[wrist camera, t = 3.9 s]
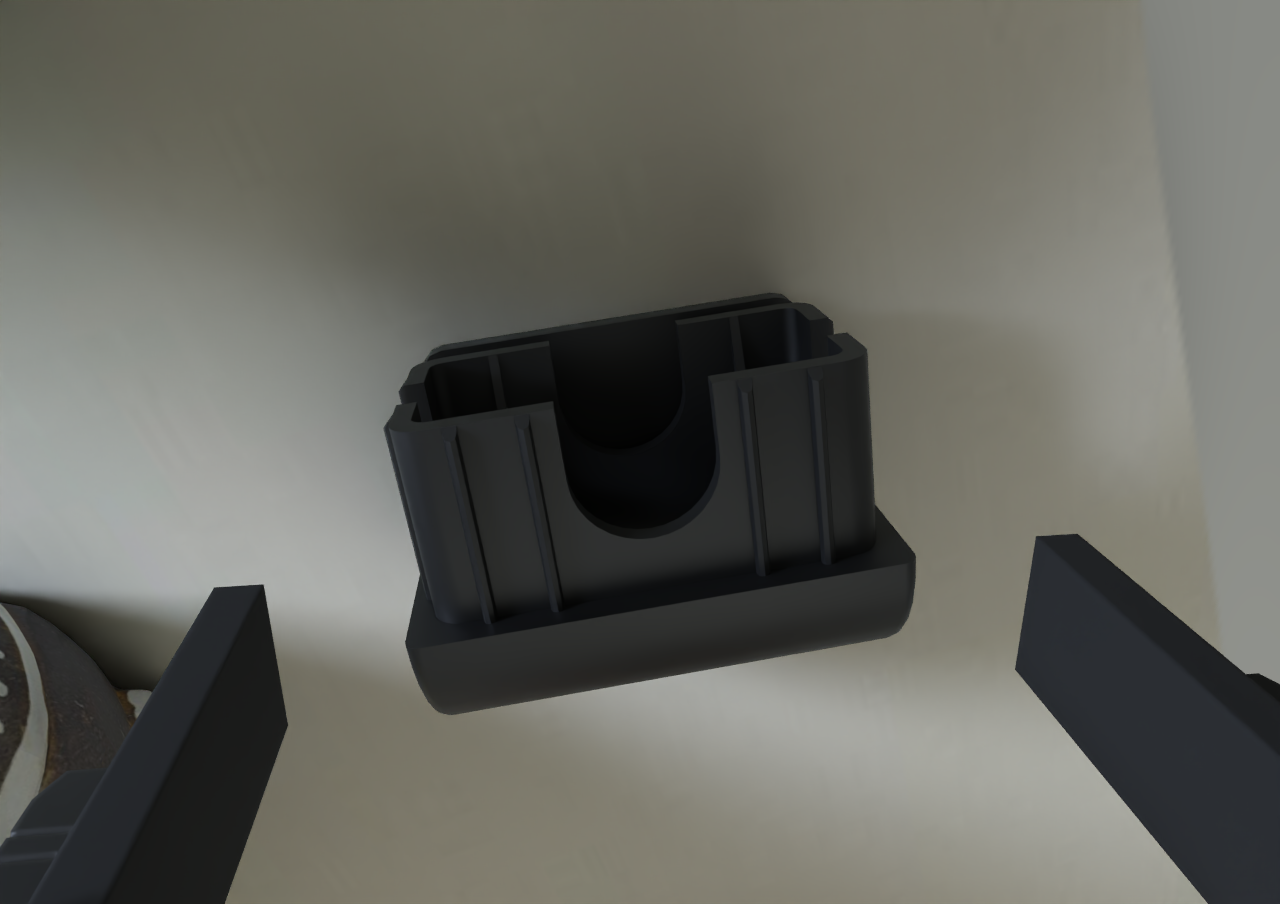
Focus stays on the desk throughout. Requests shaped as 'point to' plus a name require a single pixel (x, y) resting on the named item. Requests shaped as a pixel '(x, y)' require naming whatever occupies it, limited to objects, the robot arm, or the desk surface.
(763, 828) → the desk surface
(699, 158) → the desk surface
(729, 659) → the end cap
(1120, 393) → the desk surface
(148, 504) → the desk surface
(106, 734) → the figurine
